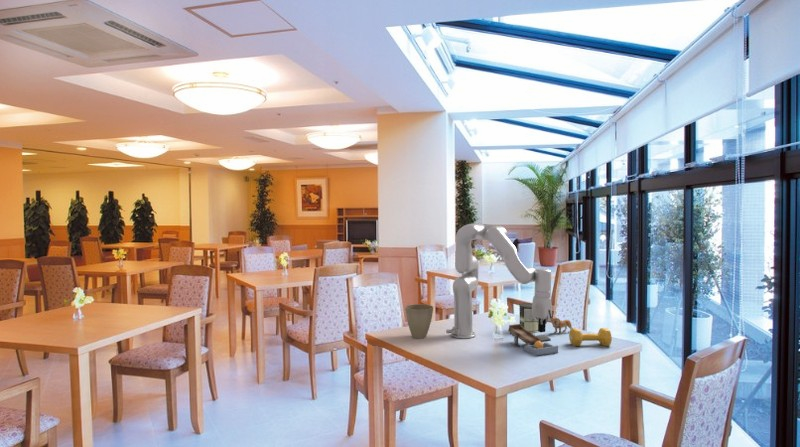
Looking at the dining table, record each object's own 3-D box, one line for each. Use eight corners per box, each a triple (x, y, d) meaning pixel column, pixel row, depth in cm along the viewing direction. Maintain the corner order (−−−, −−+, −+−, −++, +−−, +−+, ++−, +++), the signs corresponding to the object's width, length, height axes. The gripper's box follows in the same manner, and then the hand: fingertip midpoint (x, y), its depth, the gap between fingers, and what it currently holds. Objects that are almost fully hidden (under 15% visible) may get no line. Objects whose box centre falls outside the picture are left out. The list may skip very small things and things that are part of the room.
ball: (531, 341, 226) (533, 350, 224) (537, 341, 222) (538, 349, 221) (538, 340, 227) (540, 349, 226) (543, 340, 224) (545, 348, 223)
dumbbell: (606, 342, 237) (606, 326, 237) (613, 347, 228) (613, 330, 228) (567, 342, 238) (567, 326, 237) (573, 348, 229) (573, 331, 228)
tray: (524, 350, 225) (524, 343, 225) (544, 347, 229) (544, 340, 229) (537, 356, 216) (537, 349, 216) (558, 352, 220) (558, 346, 220)
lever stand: (511, 345, 234) (511, 333, 234) (530, 342, 239) (530, 331, 239) (516, 347, 230) (516, 335, 230) (535, 344, 235) (535, 333, 235)
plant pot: (412, 342, 241) (412, 310, 241) (400, 335, 255) (400, 305, 255) (438, 338, 247) (438, 308, 247) (425, 332, 261) (425, 303, 261)
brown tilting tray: (508, 333, 240) (509, 325, 239) (530, 330, 246) (531, 322, 245) (526, 347, 227) (527, 338, 226) (550, 343, 232) (551, 335, 231)
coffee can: (515, 330, 262) (515, 305, 262) (525, 327, 269) (525, 302, 269) (532, 334, 255) (532, 307, 254) (542, 330, 262) (542, 304, 261)
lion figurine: (557, 335, 251) (557, 318, 250) (549, 333, 255) (549, 316, 255) (575, 331, 258) (575, 315, 258) (567, 329, 263) (567, 313, 263)
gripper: (526, 292, 237) (525, 328, 237) (546, 297, 223) (545, 336, 224) (538, 291, 240) (537, 327, 240) (559, 296, 226) (558, 335, 227)
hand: (541, 331), depth 232 cm, fingers closed
